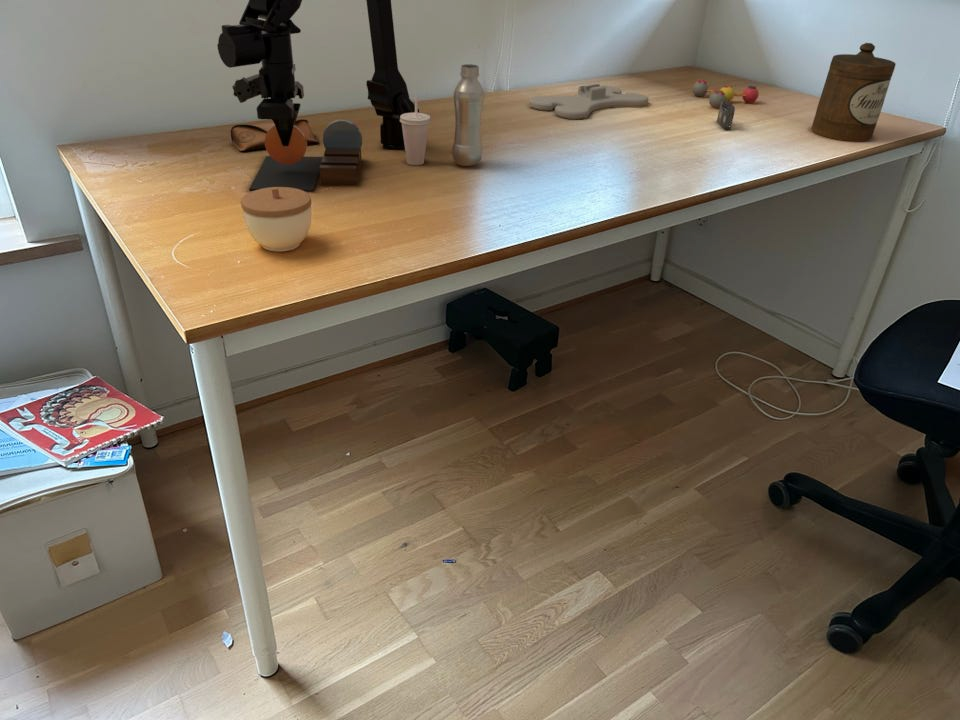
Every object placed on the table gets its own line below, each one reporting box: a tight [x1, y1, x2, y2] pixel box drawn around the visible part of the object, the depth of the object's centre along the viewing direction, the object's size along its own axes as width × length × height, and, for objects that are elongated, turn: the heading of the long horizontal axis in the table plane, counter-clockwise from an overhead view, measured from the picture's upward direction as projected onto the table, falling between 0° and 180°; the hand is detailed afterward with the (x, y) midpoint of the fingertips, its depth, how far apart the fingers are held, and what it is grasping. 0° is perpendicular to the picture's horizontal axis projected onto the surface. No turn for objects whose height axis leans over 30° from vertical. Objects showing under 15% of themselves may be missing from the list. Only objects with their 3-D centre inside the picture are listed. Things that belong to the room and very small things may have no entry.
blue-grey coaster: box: [322, 119, 363, 150], centre depth 152 cm, size 1×8×8 cm, turn 95°
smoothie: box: [400, 94, 431, 166], centre depth 153 cm, size 6×6×14 cm
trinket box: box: [240, 187, 312, 253], centre depth 117 cm, size 11×11×9 cm
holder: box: [528, 83, 649, 120], centre depth 204 cm, size 19×34×5 cm, turn 130°
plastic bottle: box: [451, 63, 485, 167], centre depth 152 cm, size 6×7×20 cm
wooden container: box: [811, 42, 897, 142], centre depth 185 cm, size 15×15×22 cm
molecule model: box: [692, 79, 760, 109], centre depth 214 cm, size 18×17×5 cm
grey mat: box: [248, 155, 323, 192], centre depth 147 cm, size 12×20×1 cm, turn 5°
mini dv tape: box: [716, 99, 736, 131], centre depth 191 cm, size 8×2×6 cm, turn 179°
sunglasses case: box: [230, 118, 319, 152], centre depth 164 cm, size 18×7×7 cm
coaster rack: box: [319, 148, 363, 187], centre depth 149 cm, size 16×7×4 cm, turn 5°
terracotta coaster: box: [265, 125, 308, 164], centre depth 144 cm, size 1×8×8 cm, turn 95°
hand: (286, 144), depth 144 cm, fingers closed on terracotta coaster, 1 cm apart
